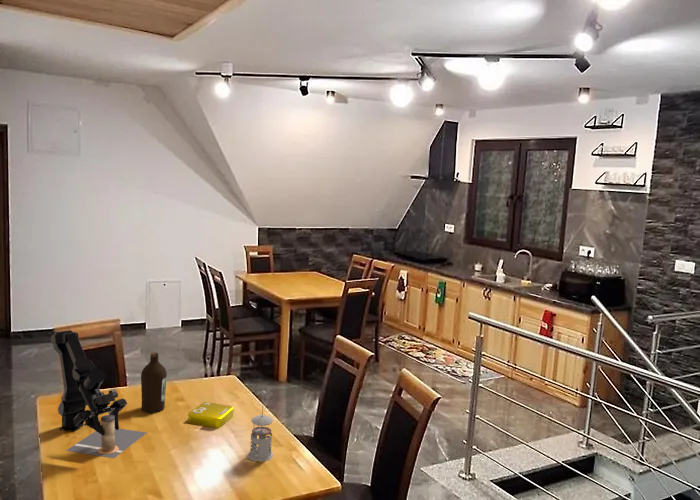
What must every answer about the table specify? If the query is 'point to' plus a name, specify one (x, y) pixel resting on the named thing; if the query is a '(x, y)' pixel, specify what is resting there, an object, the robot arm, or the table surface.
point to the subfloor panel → (94, 443)
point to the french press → (261, 438)
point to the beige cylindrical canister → (108, 433)
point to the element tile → (210, 415)
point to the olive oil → (153, 385)
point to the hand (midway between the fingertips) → (111, 432)
